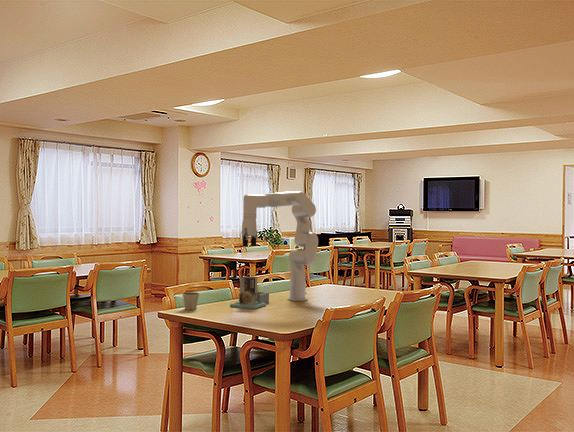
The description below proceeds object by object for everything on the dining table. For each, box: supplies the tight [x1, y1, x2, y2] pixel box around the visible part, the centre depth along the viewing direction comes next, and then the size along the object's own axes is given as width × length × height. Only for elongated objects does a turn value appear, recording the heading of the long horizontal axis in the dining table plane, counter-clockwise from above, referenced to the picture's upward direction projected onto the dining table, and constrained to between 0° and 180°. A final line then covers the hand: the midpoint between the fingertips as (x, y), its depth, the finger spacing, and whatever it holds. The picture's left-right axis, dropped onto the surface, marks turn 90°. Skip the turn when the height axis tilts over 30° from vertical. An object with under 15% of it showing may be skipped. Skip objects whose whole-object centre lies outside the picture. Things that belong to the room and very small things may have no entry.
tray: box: [229, 300, 267, 310], centre depth 318 cm, size 13×16×2 cm
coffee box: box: [239, 276, 258, 306], centre depth 319 cm, size 9×6×16 cm
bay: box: [238, 291, 270, 304], centre depth 331 cm, size 12×14×6 cm
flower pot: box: [182, 291, 200, 311], centre depth 306 cm, size 9×9×9 cm
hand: (249, 246), depth 319 cm, fingers open, 9 cm apart
